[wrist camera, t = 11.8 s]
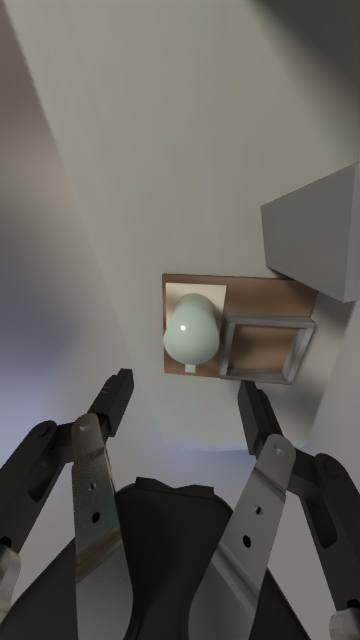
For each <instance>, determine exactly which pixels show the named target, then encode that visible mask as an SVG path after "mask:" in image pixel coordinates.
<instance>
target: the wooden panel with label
mask: <svg viewBox="0 0 360 640" xmlns="http://www.w3.org/2000/svg"><path fill="white" fill-rule="evenodd" d="M162 289H163V330H164V334H165V332H166V329H167V326H168V323H169V321H170V318H171V315H172V313H173V310H174V307H175V304H176V302H177V301H178V300H179V299H180V298H181V297H182V296H184V295H186V294H189V293H198V294H201V295H204V296H205V297H207V298H208V299H209V300H210V301H211V303H212V305H213V309H214V314H215V319H216V325H217V330H218V335H219V348H218V350H217V352H216V354H215V355H214V356H213V357H212V358H211V359H210V360H208V361H207V362H204V363H202V364H197V365H196V367H195V373H192V372H185V364H183V363H180V362H178V361H176V360H175V359H173V358H172V357H171V356H170V355H169V354H168V352H167V351H166V349H165V346H164V371H165V373H170V374H181V375H193V376H204V377H215V378H220V379H227V380H238V381H242V380H250V381H254V382H260V383H272V384H283V385H291V384H292V381H293V379H294V376H295V374H296V372H297V369H298V367H299V364H300V362H301V359H302V357H303V354H304V352H305V350H306V347H307V345H308V342H309V340H310V337H311V335H312V332H313V330H314V328H315V325H316V322H314V321H313V320H312V319H310V318H309V315H310V313H311V310H312V308H313V305H314V302H315V300H316V297H317V294H318V292H319V291H318V290H316V289H314V288H311V287H309V286H307V285H305V284H303V283H301V282H299V281H297V280H295V279H282V278H258V277H234V276H210V275H186V274H163V275H162Z"/></svg>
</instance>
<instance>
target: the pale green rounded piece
mask: <svg viewBox="0 0 360 640" xmlns="http://www.w3.org/2000/svg"><path fill="white" fill-rule="evenodd" d="M164 346H165V349H166V351H167V352H168V354H169V355H170V356H171V357H172V358H173V359H175V360H176V361H178V362H180V363H183V364H185V372H192V373H195V367H196V365H197V364H202V363H204V362H207V361H208V360H210V359H211V358H212V357H213V356H214V355H215V354H216V352H217V350H218V348H219V335H218V330H217V325H216V319H215V314H214V309H213V305H212V303H211V301H210V300H209V299H208V298H207V297H205V296H204V295H201V294H198V293H189V294H186V295H184V296H182V297H181V298H180V299H179V300H178V301H177V302H176V304H175V307H174V310H173V313H172V315H171V318H170V321H169V323H168V326H167V329H166V332H165V334H164Z"/></svg>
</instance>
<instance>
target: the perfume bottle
mask: <svg viewBox="0 0 360 640" xmlns="http://www.w3.org/2000/svg"><path fill="white" fill-rule="evenodd" d="M261 215H262V226H263V236H264V247H265V257H266V266H268V267H270V268H272V269H274V270H276V271H278V272H280V273H282V274H284V275H286V276H288V277H291V278H293V279H295V280H297V281H299V282H301V283H303V284H305V285H307V286H309V287H311V288H314V289H316V290H318V291H320V292H322V293H324V294H326V295H328V296H330V297H332V298H334V299H337V300H339V301H341V302H343V303H346V302H351V301H355V300H360V162H357V163H354V164H352V165H350V166H348V167H346V168H343V169H341V170H339V171H337V172H335V173H333V174H330V175H328V176H326V177H324V178H322V179H319V180H317V181H315V182H313V183H311V184H308V185H306V186H304V187H302V188H300V189H297V190H295V191H293V192H291V193H289V194H287V195H284V196H282V197H280V198H278V199H276V200H273V201H271V202H269V203H267V204H265V205H262V206H261Z"/></svg>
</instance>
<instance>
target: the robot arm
mask: <svg viewBox="0 0 360 640" xmlns="http://www.w3.org/2000/svg"><path fill="white" fill-rule="evenodd" d="M133 389H134V380H133V373H132V369H122V368H121V370H120V371H119V373H118V374H117V375H112V376H111V377H110V378H109V379H108V380H107V381H106V383H105V384H104V386H103V388H102V389H101V391H100V393H99V394H98V396H97V397H96V399H95V401H94V402H93V404H92V405H91V407H90V409H89V410H88V412H87V413H86V414H84V415H82V416H80V417H79V418H77V419H76V420H75V422H72V423H67V424H62V425H57V424H56V423H55V422H54V421H51V420H48V421H44V422H42V423H40V424H38V425H36V426H35V427H34V428H33V429H32V430H31V431H30V432H29V434H28V435H27V436H26V437H25V438H24V440H23V441H22V442H21V443H20V445H19V446H18V447H17V449H16V450H15V451H14V452H13V454H12V455H11V456H10V457H9V459H8V460H7V462H6V463H5V464H4V465H3V466H2V468H1V469H0V640H311V639H310V637H309V636H308V634H307V632H306V631H305V629H304V627H303V626H302V624H301V622H300V621H299V619H298V617H297V616H296V614H295V612H294V611H293V609H292V607H291V606H290V604H289V602H288V601H287V599H286V597H285V596H284V594H283V592H282V591H281V589H280V587H279V586H278V584H277V582H276V581H275V579H274V577H273V576H272V574H271V572H270V571H269V569H268V567H267V564H268V561H269V557H270V554H271V550H272V547H273V543H274V540H275V536H276V533H277V529H278V526H279V522H280V518H281V515H282V511H283V508H284V504H285V500H286V495H285V493H286V490H288V491H290V492H291V493H293V494H296V495H297V496H299V498H300V501H301V504H302V507H303V510H304V513H305V516H306V520H307V523H308V526H309V529H310V531H311V535H312V538H313V541H314V543H315V546H316V550H317V553H318V556H319V559H320V562H321V565H322V568H323V571H324V574H325V577H326V580H327V583H328V587H329V589H330V593H331V595H332V599H333V602H334V604H335V608H336V611H337V612H335V613H334V614H333V615H332V616H331V618H330V624H329V630H330V637H331V640H360V494H359V492H358V490H357V489H356V487H355V485H354V483H353V481H352V480H351V478H350V476H349V475H348V472H347V471H346V469H345V468H344V467H343V466H342V465H341V464H340V463H339V462H338V461H337V460H336V459H334V458H333V457H331V456H329V455H327V454H323V453H319V454H317V455H316V456H315V457H314V456H312V455H309V454H307V453H305V452H302V451H300V450H298V449H296V448H295V447H293V445H292V444H291V442H290V441H289V440H288V439H286V438H285V437H284V436H283V434H282V431H281V429H280V426H279V424H278V421H277V419H276V416H275V414H274V411H273V409H272V407H271V405H270V402H269V399H268V397H267V395H266V394H265V393H264V392H263V391H262V389H257V388H256V385H255V383H254V381H250V380H242V381H241V385H240V388H239V392H238V406H239V410H240V415H241V419H242V423H243V428H244V432H245V437H246V441H247V446H248V450H249V454H250V455H255V456H256V460H257V462H256V464H255V466H254V468H253V470H252V473H251V475H250V477H249V479H248V481H247V483H246V486H245V488H244V490H243V492H242V494H241V496H240V499H239V501H238V503H237V505H236V507H235V510H234V511H233V510H232V509H231V507H230V506H229V505H228V504H227V503H226V502H225V501H224V500H223V499H222V498H220V497H219V496H217V495H215V494H214V487H208V486H201V485H189V486H185V487H180V488H172V487H169V486H168V485H166V484H163V483H162V482H160V481H158V480H156V479H151V478H143V477H137V478H136V481H135V483H133V484H130V485H127V486H125V487H124V488H122V489H120V490H119V491H116V487H115V483H114V479H113V475H112V471H111V466H110V461H109V457H108V452H107V448H106V441H107V439H108V437H114V436H115V434H116V432H117V429H118V426H119V424H120V422H121V419H122V417H123V415H124V412H125V410H126V407H127V404H128V402H129V400H130V398H131V395H132V392H133ZM70 462H74V464H73V466H72V470H71V472H72V490H73V507H74V525H75V537H74V538H73V539H72V540H71V541H70V542H69V544H68V545H67V546H66V547H65V548H64V549H63V550H62V551H61V553H59V554H58V556H57V557H56V558H55V559H54V560H53V561H52V562H51V563H50V564H49V565H48V566H47V568H46V569H45V570H44V571H43V572H42V573H41V574H40V575H39V576H38V577H37V578H36V579H35V580H34V582H33V583H32V584H31V585H30V586H29V587H28V588H27V589H26V590H25V591H24V592H23V594H22V595H21V596H20V597H19V598H18V599H17V601H16V602H15V603H14V605H13V606H12V607H11V598H12V593H13V590H14V587H15V584H16V581H17V579H18V576H19V573H20V569H21V558H20V556H19V555H18V554H19V552H20V550H21V548H22V546H23V544H24V542H25V540H26V539H27V537H28V535H29V533H30V531H31V529H32V527H33V525H34V523H35V521H36V519H37V517H38V516H39V514H40V512H41V510H42V508H43V506H44V504H45V502H46V500H47V498H48V496H49V494H50V492H51V490H52V489H53V487H54V485H55V483H56V481H57V479H58V477H59V475H60V473H61V471H62V469H63V467H64V466H65V464H66V463H70Z"/></svg>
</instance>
